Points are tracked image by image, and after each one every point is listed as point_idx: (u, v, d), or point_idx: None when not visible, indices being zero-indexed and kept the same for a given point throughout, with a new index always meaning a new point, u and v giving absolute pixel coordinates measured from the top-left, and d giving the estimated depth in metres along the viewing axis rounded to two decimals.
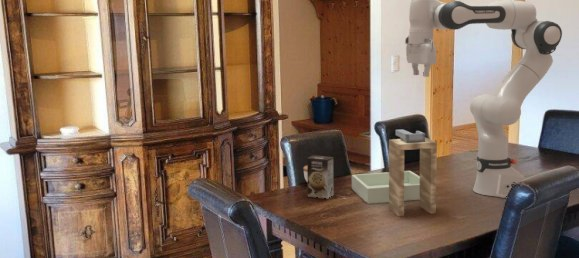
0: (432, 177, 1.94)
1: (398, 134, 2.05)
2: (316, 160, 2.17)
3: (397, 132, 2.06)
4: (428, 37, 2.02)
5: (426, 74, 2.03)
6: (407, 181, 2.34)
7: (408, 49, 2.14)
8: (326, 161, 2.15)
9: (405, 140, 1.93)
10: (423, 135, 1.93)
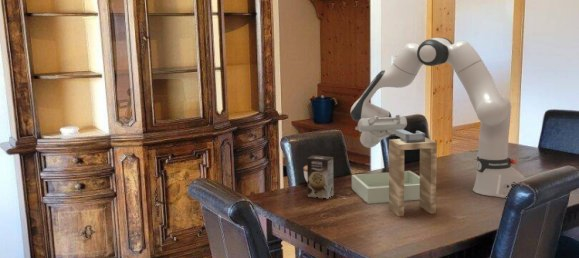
0: (432, 177, 1.94)
1: (398, 134, 2.05)
2: (316, 160, 2.17)
3: (397, 132, 2.06)
4: None
5: (374, 118, 2.20)
6: (407, 181, 2.34)
7: (398, 129, 2.30)
8: (326, 161, 2.15)
9: (405, 140, 1.93)
10: (423, 135, 1.93)
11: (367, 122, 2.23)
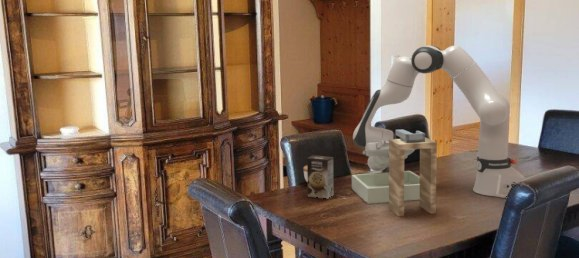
0: (432, 177, 1.94)
1: (398, 134, 2.05)
2: (316, 160, 2.17)
3: (397, 132, 2.06)
4: None
5: (381, 143, 2.13)
6: (407, 181, 2.34)
7: (407, 153, 2.23)
8: (326, 161, 2.15)
9: (405, 140, 1.93)
10: (423, 135, 1.93)
11: (374, 146, 2.16)
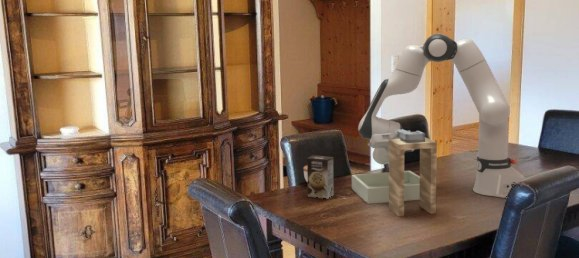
0: (432, 177, 1.94)
1: None
2: (316, 160, 2.17)
3: None
4: None
5: (394, 134, 2.05)
6: (407, 181, 2.34)
7: None
8: (326, 161, 2.15)
9: (405, 140, 1.93)
10: (423, 135, 1.93)
11: (381, 138, 2.08)
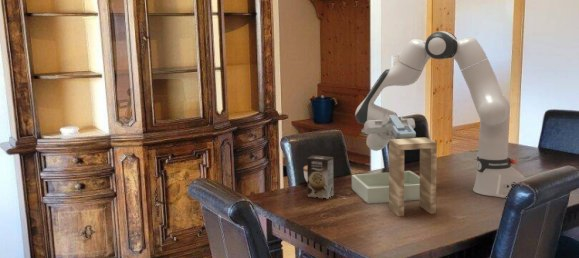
0: (432, 177, 1.94)
1: None
2: (316, 160, 2.17)
3: None
4: None
5: (387, 120, 2.12)
6: (407, 181, 2.34)
7: None
8: (326, 161, 2.15)
9: (396, 138, 2.02)
10: (414, 134, 2.02)
11: (374, 124, 2.15)
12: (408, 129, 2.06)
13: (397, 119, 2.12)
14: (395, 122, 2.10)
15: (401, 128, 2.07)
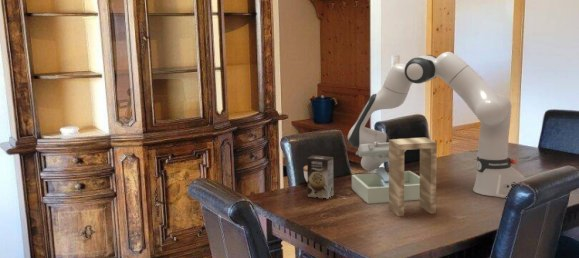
0: (432, 177, 1.94)
1: (378, 173, 2.30)
2: (316, 160, 2.17)
3: (377, 171, 2.30)
4: None
5: (374, 144, 2.22)
6: (407, 181, 2.34)
7: None
8: (326, 161, 2.15)
9: None
10: None
11: (367, 147, 2.26)
12: None
13: (384, 171, 2.29)
14: (382, 175, 2.27)
15: (388, 181, 2.24)
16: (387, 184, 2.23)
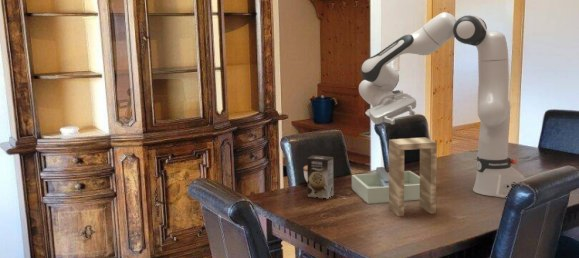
0: (432, 177, 1.94)
1: (378, 173, 2.30)
2: (316, 160, 2.17)
3: (377, 171, 2.30)
4: (374, 103, 2.29)
5: (391, 122, 2.19)
6: (407, 181, 2.34)
7: None
8: (326, 161, 2.15)
9: None
10: None
11: (382, 119, 2.21)
12: None
13: (384, 171, 2.29)
14: (382, 175, 2.27)
15: (388, 181, 2.24)
16: (387, 184, 2.23)
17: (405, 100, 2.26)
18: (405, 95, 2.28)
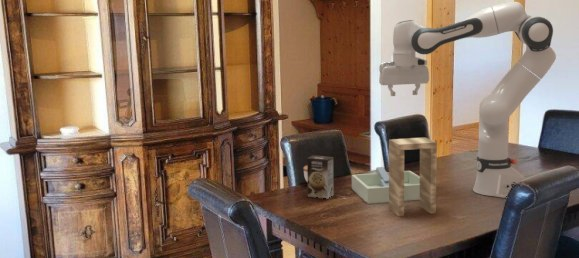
0: (432, 177, 1.94)
1: (378, 173, 2.30)
2: (316, 160, 2.17)
3: (377, 171, 2.30)
4: (395, 60, 2.19)
5: (391, 94, 2.23)
6: (407, 181, 2.34)
7: None
8: (326, 161, 2.15)
9: None
10: None
11: (387, 84, 2.22)
12: None
13: (384, 171, 2.29)
14: (382, 175, 2.27)
15: (388, 181, 2.24)
16: (387, 184, 2.23)
17: (420, 76, 2.21)
18: (425, 70, 2.21)
